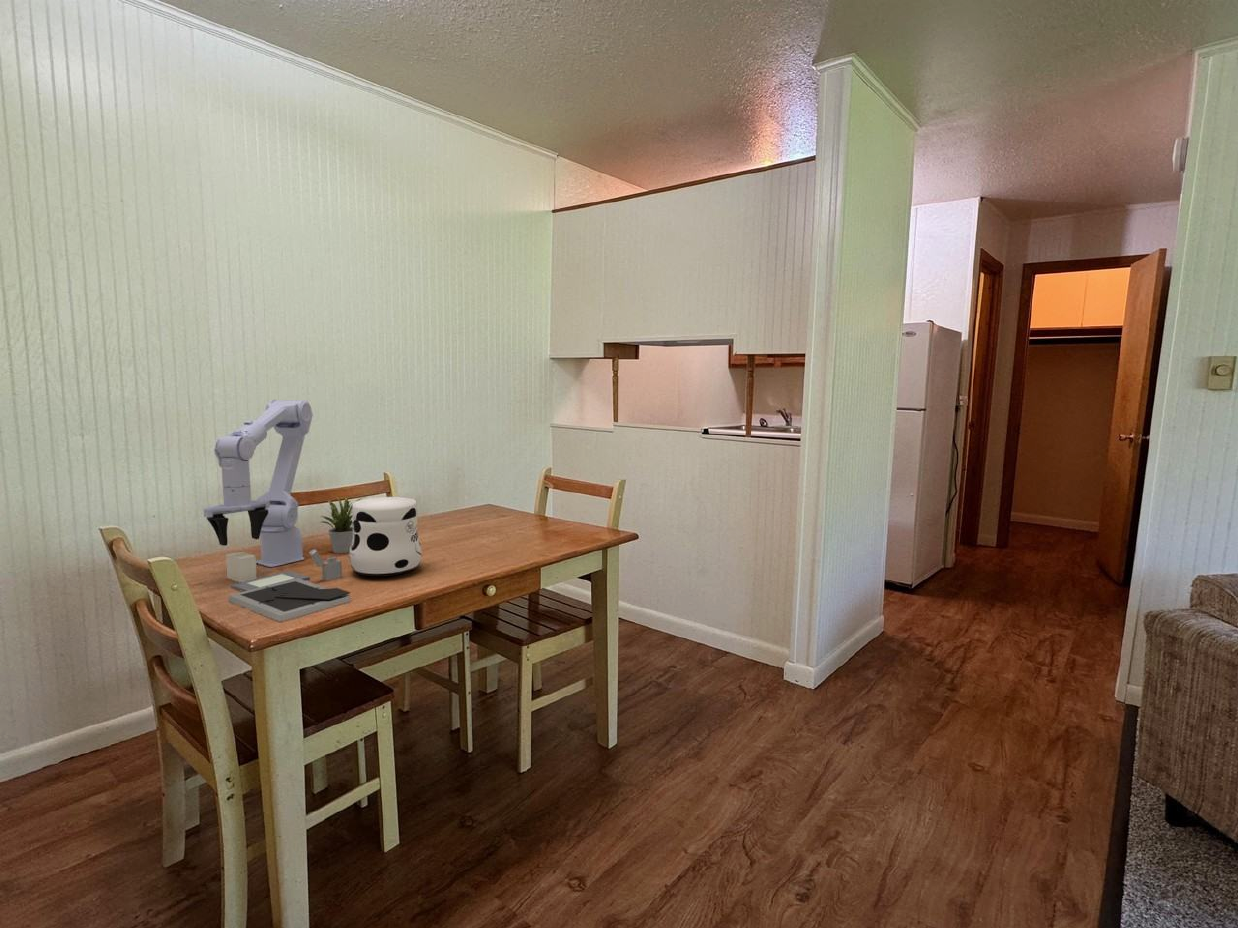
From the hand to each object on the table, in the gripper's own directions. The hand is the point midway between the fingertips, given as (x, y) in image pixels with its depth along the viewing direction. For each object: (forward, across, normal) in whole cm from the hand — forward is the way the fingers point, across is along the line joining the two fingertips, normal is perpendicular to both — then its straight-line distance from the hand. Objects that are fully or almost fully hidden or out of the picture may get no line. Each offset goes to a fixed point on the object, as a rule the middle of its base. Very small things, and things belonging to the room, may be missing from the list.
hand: (239, 541), depth 158 cm
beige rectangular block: (+9, 0, 0) cm, 9 cm away
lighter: (+10, +11, -17) cm, 22 cm away
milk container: (+10, +24, -23) cm, 35 cm away
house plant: (+10, +31, +2) cm, 32 cm away
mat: (+9, +2, -9) cm, 13 cm away
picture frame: (+10, -3, -24) cm, 27 cm away
